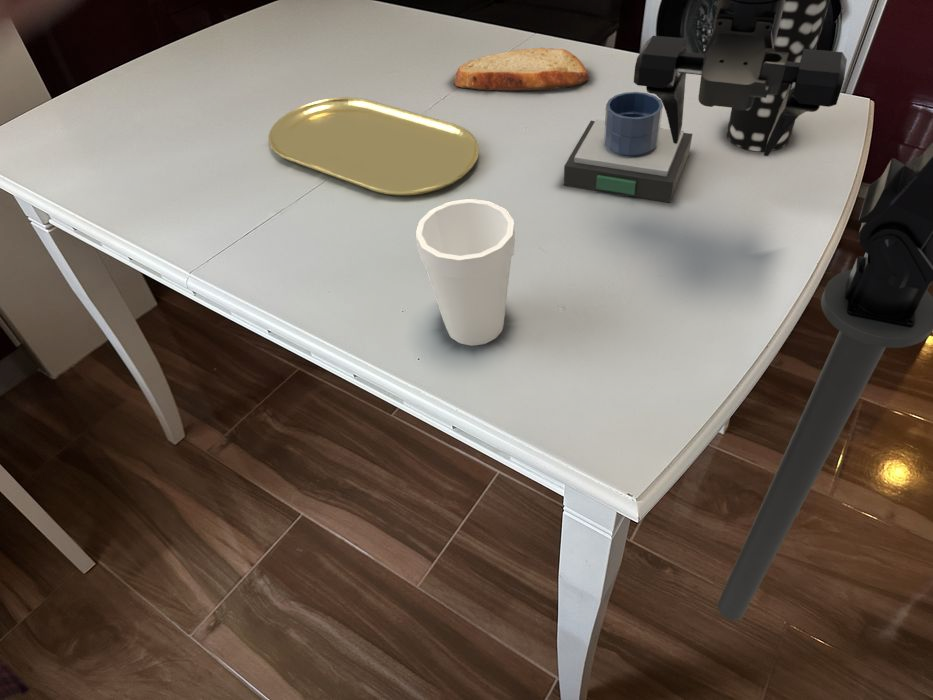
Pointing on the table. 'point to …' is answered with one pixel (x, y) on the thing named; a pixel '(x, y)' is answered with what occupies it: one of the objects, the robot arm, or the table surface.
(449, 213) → the foam cup
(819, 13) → the white-spotted black cylinder
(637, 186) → the scale
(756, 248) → the table surface
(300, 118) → the serving platter
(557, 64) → the bread slice
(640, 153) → the small blue cup
